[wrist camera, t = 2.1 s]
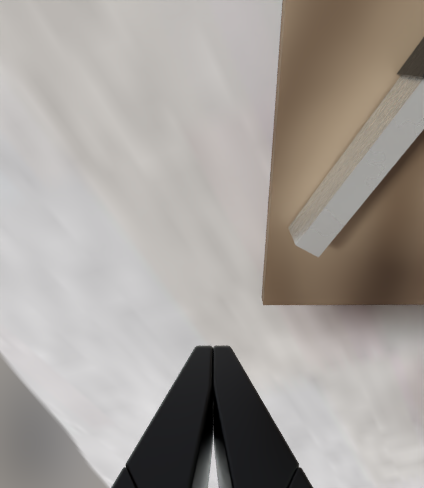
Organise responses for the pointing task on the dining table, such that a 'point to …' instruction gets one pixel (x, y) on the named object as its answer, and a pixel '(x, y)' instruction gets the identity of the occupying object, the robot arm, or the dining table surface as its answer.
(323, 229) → the bar
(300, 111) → the board
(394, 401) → the dining table surface
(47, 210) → the dining table surface
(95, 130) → the dining table surface
